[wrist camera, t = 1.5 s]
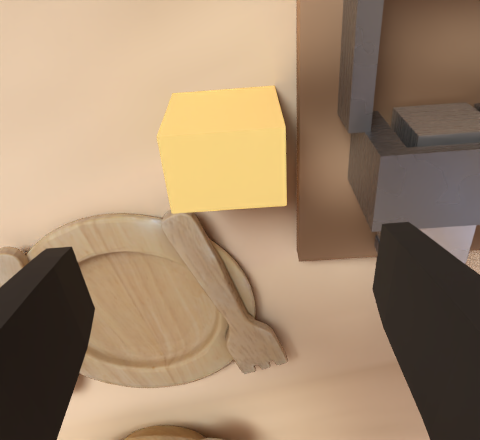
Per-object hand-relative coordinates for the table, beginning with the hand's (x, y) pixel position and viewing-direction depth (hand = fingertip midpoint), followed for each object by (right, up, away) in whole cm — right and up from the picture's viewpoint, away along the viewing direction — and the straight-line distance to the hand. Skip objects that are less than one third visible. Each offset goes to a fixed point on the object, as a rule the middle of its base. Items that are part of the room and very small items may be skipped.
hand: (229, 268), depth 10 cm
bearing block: (+8, +5, +8) cm, 13 cm away
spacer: (0, +5, +8) cm, 10 cm away
